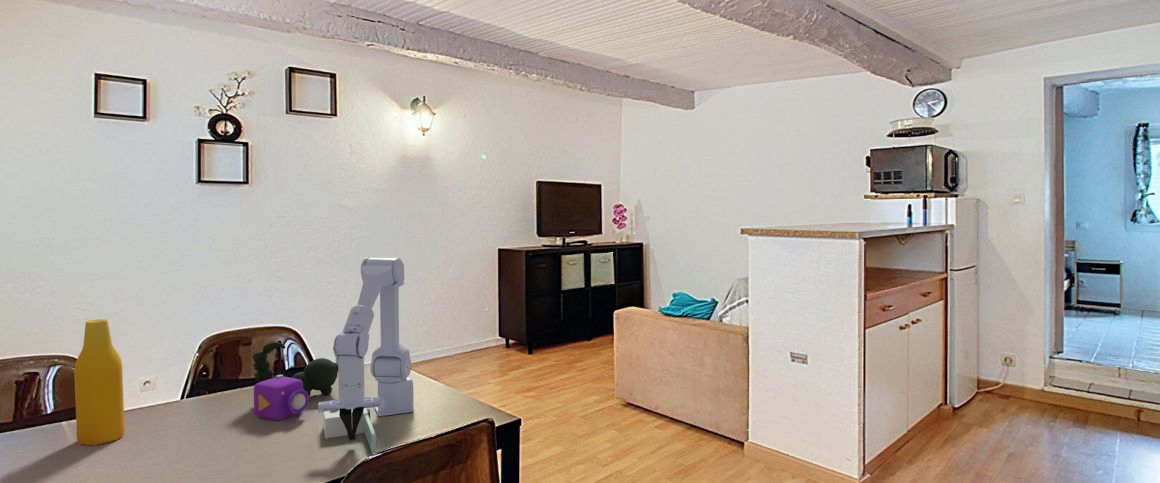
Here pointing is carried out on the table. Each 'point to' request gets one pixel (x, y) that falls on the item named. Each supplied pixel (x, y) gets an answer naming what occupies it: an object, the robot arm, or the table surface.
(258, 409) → the toy camera
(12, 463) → the table surface
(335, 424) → the block
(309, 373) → the toy figurine
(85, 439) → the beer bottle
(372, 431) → the side door
